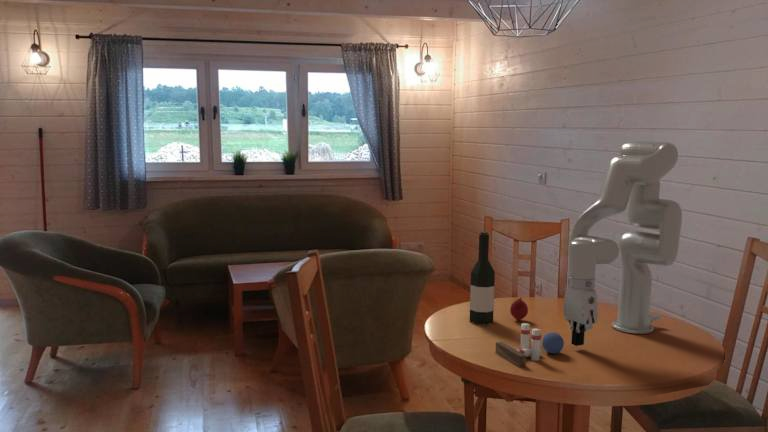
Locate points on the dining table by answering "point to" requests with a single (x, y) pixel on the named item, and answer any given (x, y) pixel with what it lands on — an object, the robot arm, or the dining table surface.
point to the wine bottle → (482, 285)
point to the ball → (552, 343)
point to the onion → (519, 309)
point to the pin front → (527, 351)
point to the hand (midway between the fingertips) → (577, 344)
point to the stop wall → (511, 354)
